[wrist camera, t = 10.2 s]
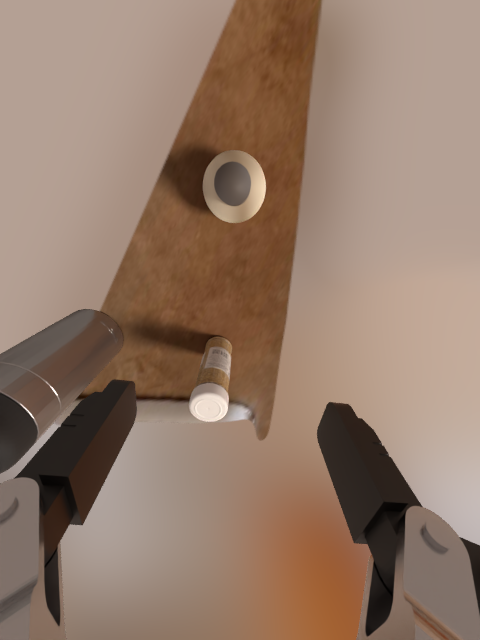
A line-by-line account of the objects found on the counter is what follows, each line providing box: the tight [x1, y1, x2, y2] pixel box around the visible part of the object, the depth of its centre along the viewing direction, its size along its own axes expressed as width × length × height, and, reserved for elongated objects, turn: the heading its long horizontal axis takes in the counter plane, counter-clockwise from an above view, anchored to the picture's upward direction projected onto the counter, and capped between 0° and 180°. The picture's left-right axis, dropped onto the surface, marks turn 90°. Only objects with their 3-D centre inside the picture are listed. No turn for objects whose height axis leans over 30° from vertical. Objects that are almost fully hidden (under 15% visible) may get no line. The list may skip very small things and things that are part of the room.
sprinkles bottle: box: [189, 337, 232, 422], centre depth 32 cm, size 5×5×13 cm
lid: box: [203, 150, 266, 223], centre depth 23 cm, size 7×7×5 cm
